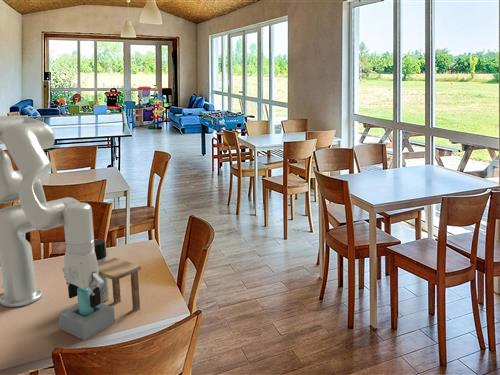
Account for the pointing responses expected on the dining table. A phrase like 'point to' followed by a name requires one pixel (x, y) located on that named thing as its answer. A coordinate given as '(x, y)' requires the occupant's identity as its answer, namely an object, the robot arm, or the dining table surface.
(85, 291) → the peg
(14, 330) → the dining table surface
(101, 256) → the spray can
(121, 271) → the board on two legs
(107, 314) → the socket block
